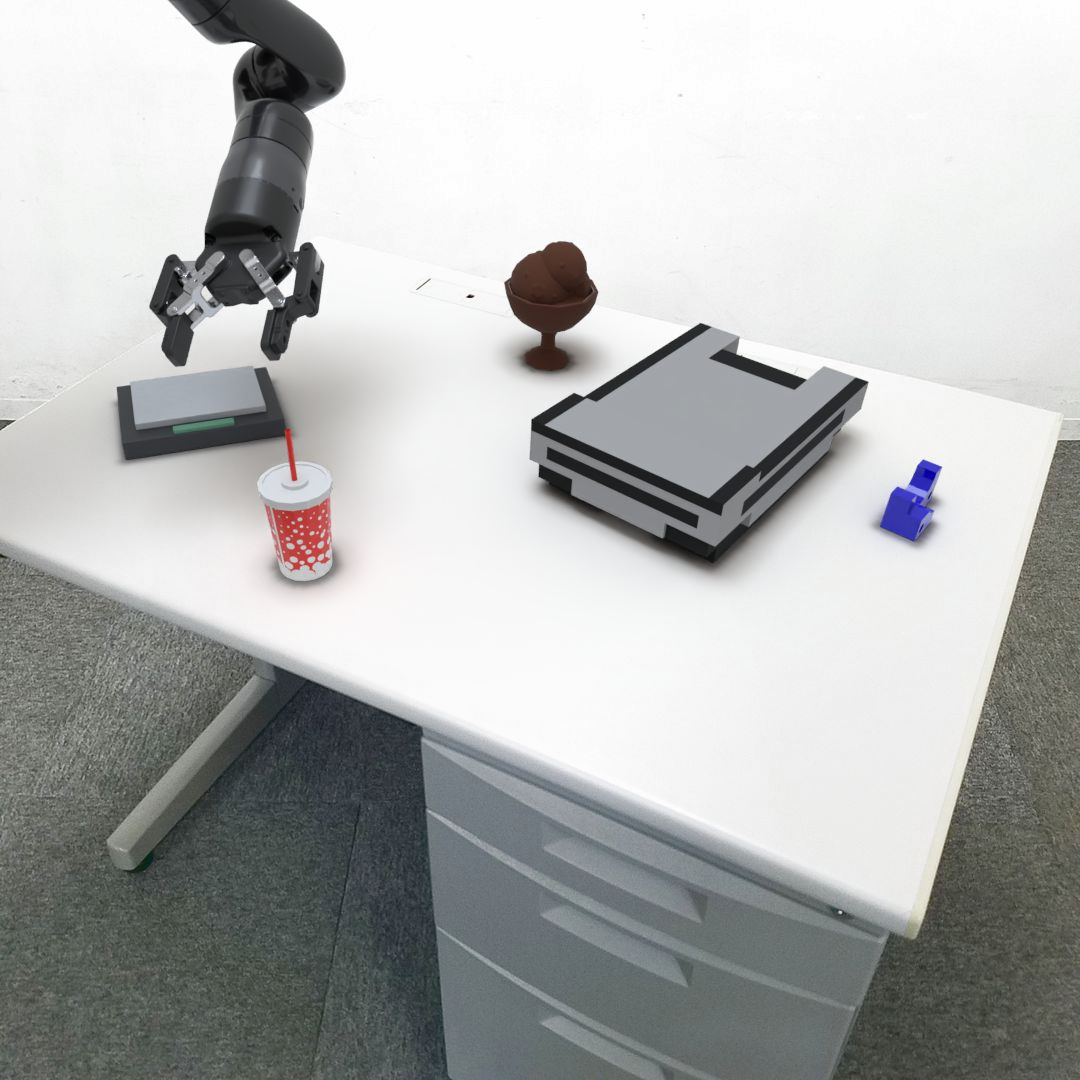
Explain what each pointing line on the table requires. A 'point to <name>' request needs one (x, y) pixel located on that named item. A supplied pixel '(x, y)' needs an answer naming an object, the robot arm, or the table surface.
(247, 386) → the scale
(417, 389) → the table surface
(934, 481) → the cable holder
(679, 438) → the game console
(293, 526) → the beverage cup
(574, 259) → the ice cream bowl
